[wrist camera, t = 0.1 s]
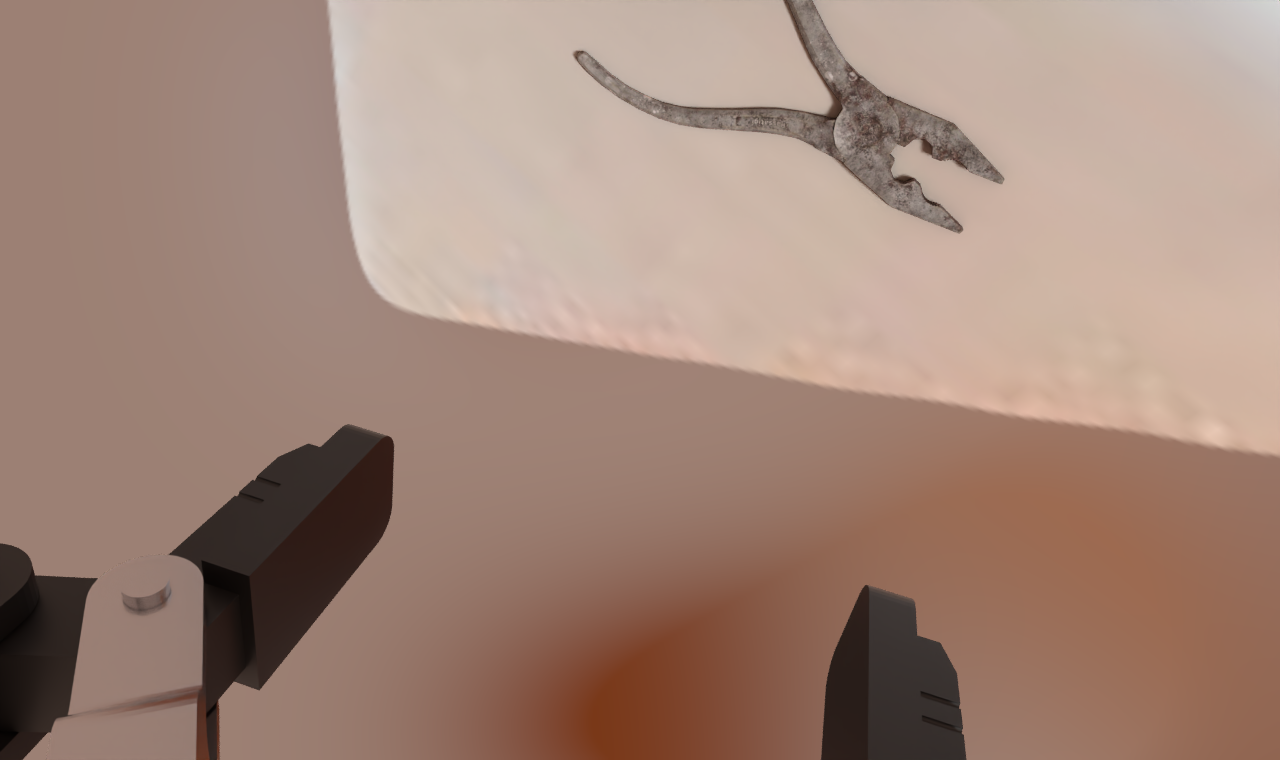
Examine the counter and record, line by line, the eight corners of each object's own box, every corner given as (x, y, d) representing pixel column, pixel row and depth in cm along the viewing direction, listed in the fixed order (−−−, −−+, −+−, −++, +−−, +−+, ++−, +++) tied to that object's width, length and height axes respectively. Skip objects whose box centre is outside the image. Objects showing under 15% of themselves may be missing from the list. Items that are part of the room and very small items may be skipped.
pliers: (626, -149, 34) (1092, 23, 33) (632, -148, 35) (1087, 21, 34) (567, 84, 39) (969, 241, 38) (573, 81, 40) (967, 235, 39)
